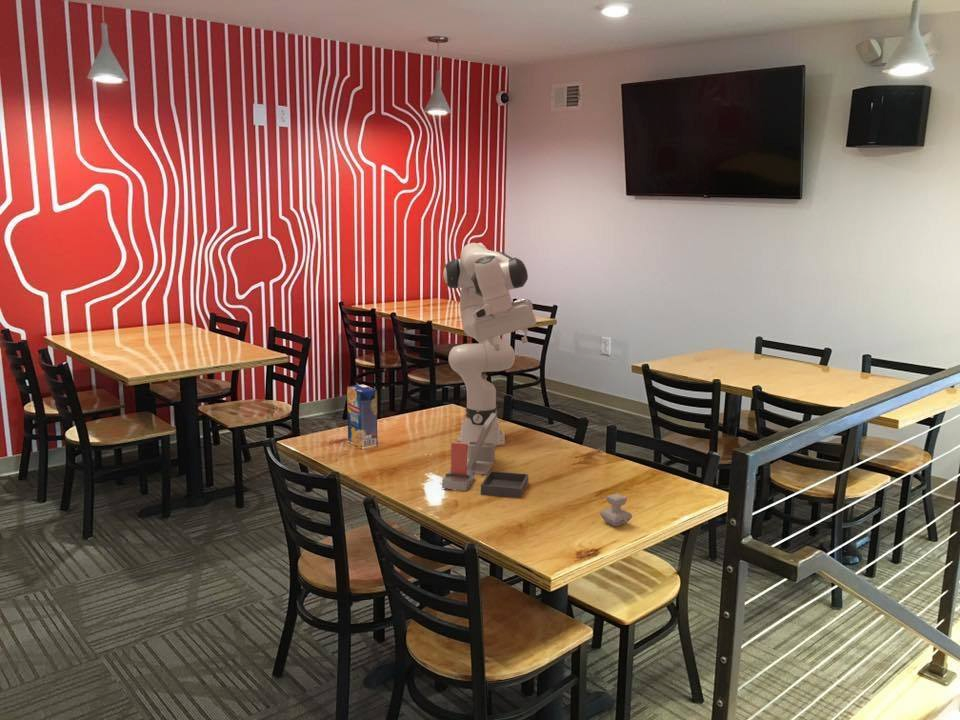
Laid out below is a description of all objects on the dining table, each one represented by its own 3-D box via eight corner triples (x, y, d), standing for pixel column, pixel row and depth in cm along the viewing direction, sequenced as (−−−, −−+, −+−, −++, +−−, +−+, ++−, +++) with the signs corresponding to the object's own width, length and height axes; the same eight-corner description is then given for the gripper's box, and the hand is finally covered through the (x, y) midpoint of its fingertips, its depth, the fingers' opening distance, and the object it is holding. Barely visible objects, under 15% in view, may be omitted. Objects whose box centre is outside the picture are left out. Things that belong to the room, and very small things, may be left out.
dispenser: (451, 476, 262) (451, 466, 261) (474, 478, 260) (475, 468, 259) (442, 488, 250) (442, 478, 249) (466, 491, 248) (466, 480, 248)
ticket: (452, 482, 256) (452, 441, 254) (466, 483, 255) (467, 443, 252) (450, 483, 255) (451, 443, 252) (465, 485, 254) (466, 444, 251)
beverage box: (363, 439, 302) (363, 384, 298) (377, 446, 293) (377, 389, 289) (348, 442, 298) (346, 386, 294) (361, 449, 289) (360, 392, 285)
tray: (489, 479, 259) (489, 470, 259) (528, 483, 257) (528, 474, 256) (480, 494, 246) (480, 485, 245) (520, 498, 243) (521, 488, 243)
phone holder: (469, 457, 282) (469, 409, 279) (496, 459, 280) (497, 411, 277) (457, 473, 265) (458, 422, 262) (486, 475, 263) (487, 424, 260)
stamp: (634, 526, 223) (636, 499, 221) (617, 531, 219) (619, 503, 218) (613, 516, 230) (614, 489, 229) (596, 520, 227) (597, 493, 225)
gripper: (530, 295, 251) (542, 336, 253) (471, 313, 255) (483, 352, 257) (529, 297, 245) (541, 339, 247) (468, 315, 249) (480, 356, 251)
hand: (511, 346), depth 252 cm, fingers open, 8 cm apart
